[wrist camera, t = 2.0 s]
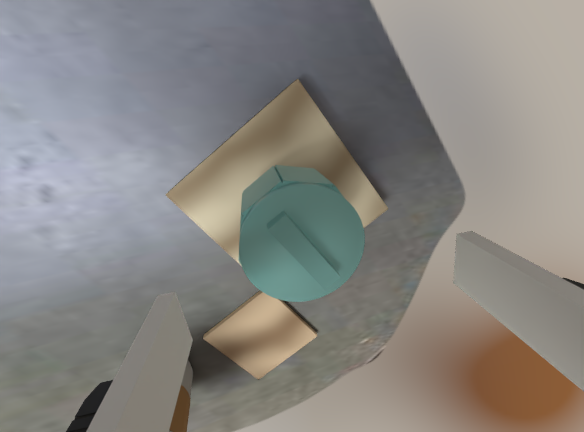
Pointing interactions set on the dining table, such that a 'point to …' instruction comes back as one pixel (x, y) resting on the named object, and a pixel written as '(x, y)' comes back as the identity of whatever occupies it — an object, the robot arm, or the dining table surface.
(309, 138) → the post base
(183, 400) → the coffee cup
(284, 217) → the cap
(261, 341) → the coaster
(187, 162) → the dining table surface
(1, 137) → the dining table surface
